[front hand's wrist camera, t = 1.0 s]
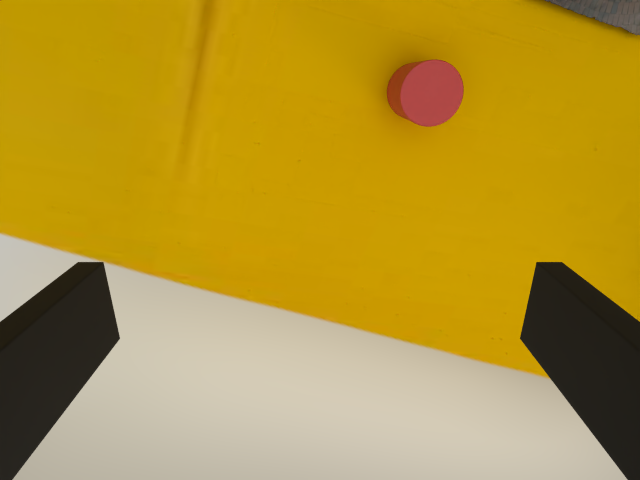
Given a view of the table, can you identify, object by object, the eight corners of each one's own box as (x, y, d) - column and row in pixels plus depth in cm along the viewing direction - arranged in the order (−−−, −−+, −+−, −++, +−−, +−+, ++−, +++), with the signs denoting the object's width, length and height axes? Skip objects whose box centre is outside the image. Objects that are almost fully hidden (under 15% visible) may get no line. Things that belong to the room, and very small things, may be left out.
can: (387, 120, 48) (400, 128, 40) (386, 64, 46) (400, 62, 38) (438, 116, 48) (461, 124, 40) (440, 60, 46) (465, 57, 38)
